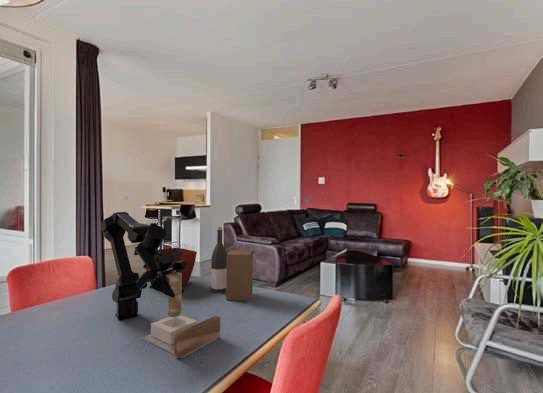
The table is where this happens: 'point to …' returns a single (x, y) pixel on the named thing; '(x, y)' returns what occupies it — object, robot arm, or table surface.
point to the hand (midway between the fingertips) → (178, 294)
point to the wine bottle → (218, 265)
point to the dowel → (175, 302)
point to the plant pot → (186, 256)
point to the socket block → (170, 327)
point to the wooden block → (239, 275)
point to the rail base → (190, 338)
